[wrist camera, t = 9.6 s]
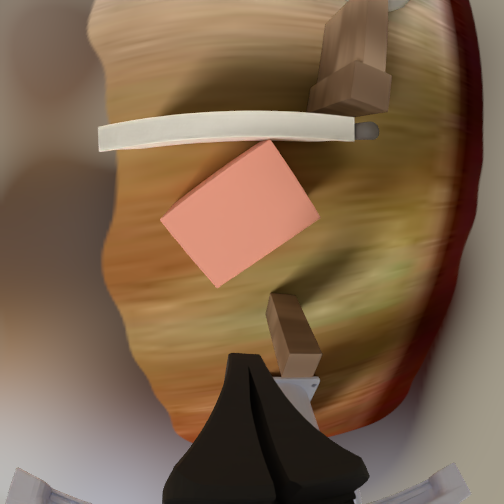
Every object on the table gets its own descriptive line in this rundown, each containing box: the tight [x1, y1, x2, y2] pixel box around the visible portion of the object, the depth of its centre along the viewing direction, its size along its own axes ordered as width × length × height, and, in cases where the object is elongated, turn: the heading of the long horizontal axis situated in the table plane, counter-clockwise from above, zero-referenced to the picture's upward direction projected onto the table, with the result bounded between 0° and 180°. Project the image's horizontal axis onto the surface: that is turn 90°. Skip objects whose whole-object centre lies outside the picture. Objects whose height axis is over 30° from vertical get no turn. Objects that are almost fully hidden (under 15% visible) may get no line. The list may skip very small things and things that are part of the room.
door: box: [98, 111, 354, 152], centre depth 13 cm, size 11×1×7 cm, turn 91°
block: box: [160, 140, 321, 288], centre depth 16 cm, size 7×5×4 cm
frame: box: [266, 0, 392, 378], centre depth 14 cm, size 23×2×8 cm, turn 171°
